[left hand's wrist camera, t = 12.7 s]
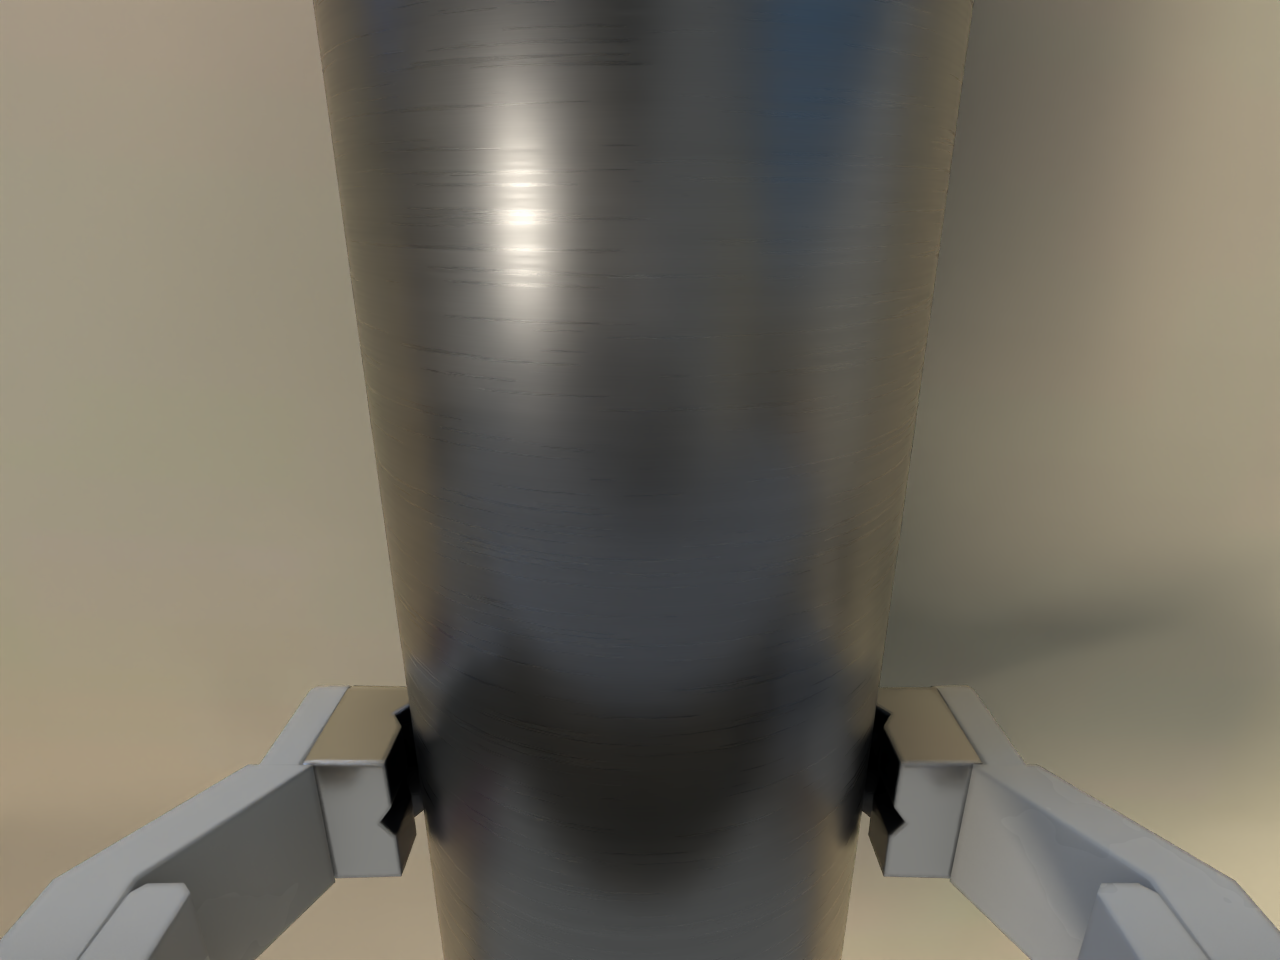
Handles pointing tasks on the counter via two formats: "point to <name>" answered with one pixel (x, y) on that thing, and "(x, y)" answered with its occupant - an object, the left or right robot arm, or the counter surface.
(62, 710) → the counter surface
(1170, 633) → the counter surface
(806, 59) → the rod
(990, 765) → the left robot arm
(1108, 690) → the counter surface
